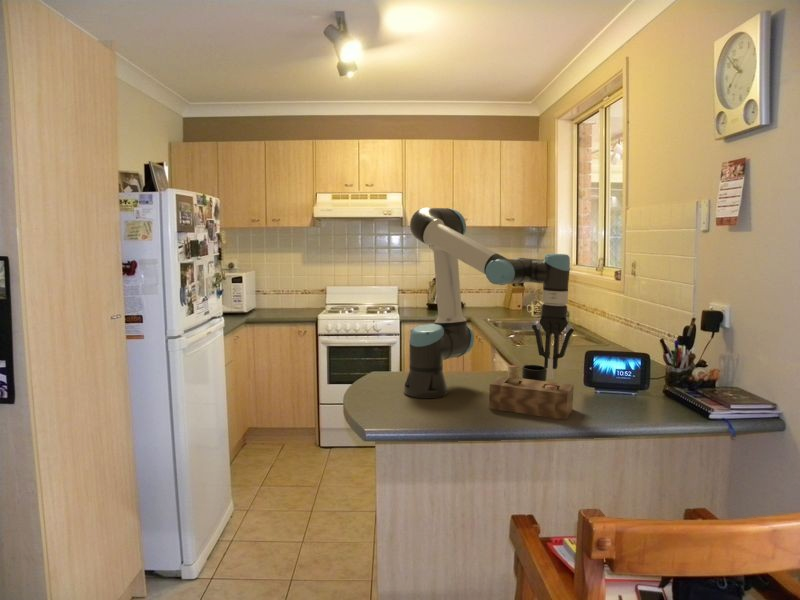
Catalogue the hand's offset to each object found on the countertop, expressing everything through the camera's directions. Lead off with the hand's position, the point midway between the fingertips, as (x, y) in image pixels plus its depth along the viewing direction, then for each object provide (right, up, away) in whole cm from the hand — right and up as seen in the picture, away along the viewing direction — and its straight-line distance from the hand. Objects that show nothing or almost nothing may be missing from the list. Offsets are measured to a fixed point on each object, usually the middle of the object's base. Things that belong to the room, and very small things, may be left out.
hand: (550, 378), depth 176 cm
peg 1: (-11, -4, +5) cm, 13 cm away
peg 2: (0, -10, +1) cm, 10 cm away
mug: (-1, -8, +22) cm, 24 cm away
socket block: (-5, -10, +3) cm, 12 cm away
